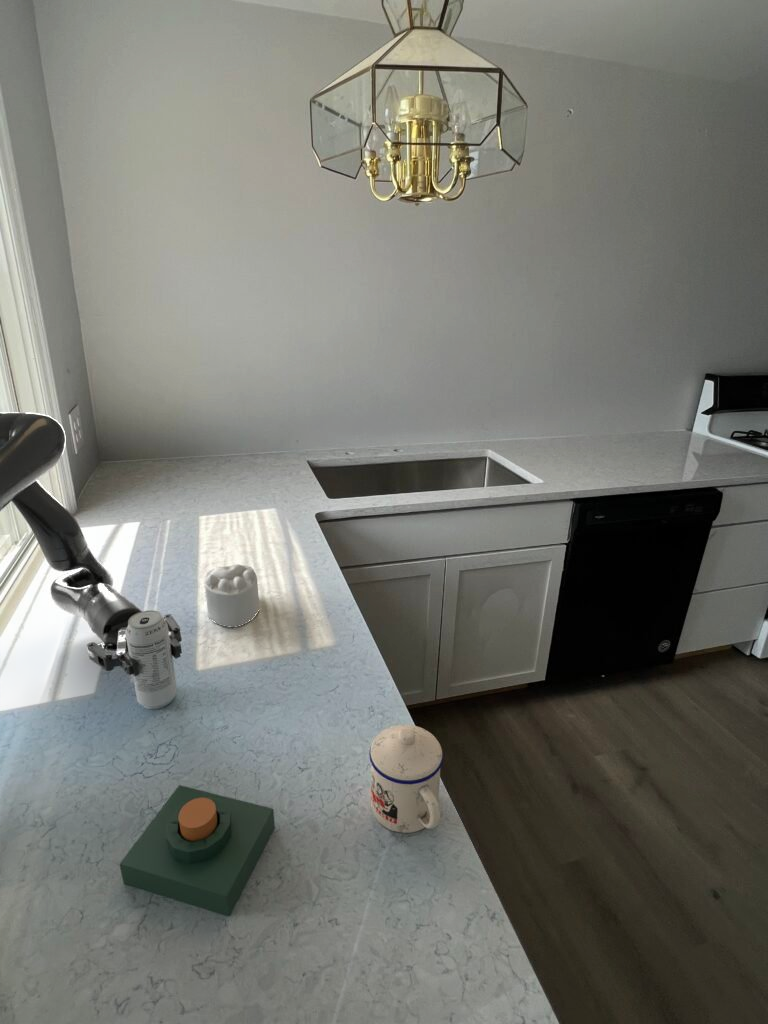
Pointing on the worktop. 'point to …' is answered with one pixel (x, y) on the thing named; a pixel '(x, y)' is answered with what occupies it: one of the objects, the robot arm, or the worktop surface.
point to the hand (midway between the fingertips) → (157, 661)
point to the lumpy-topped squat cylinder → (231, 594)
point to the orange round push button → (198, 819)
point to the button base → (200, 853)
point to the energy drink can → (151, 659)
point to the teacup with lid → (405, 778)
